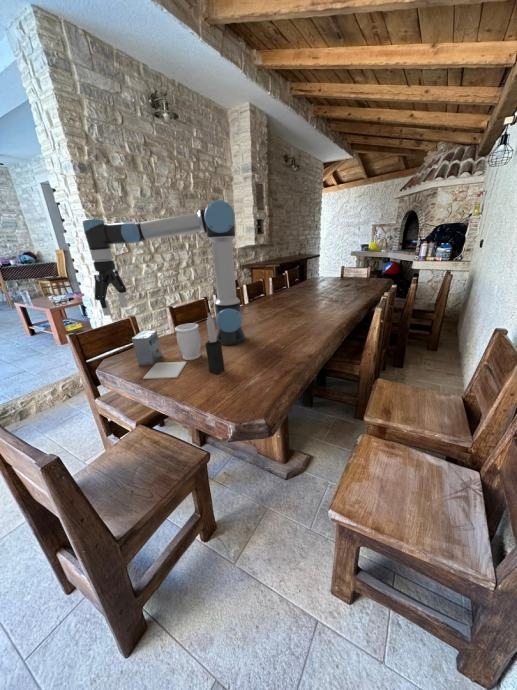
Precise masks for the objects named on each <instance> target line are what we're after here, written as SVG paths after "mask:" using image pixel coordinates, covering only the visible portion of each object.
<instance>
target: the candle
mask: <svg viewBox="0 0 517 690" xmlns="http://www.w3.org/2000/svg"><path fill="white" fill-rule="evenodd" d="M215 324H216V323H215V321H214V319H213V318H212V316H211V312H208V313H207V319H206V327H207V335H208V340H207V342H205V345H204V346H205V350H206V357H207V358H206V359H207V363H208V365H207V366H208V370H209V374H213V375H220V374H221V373H222V372H224V371H225V364H224V363H225V362H224V354H223V345H221V341H219V340H218V339H217V332H216V325H215Z"/></svg>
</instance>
